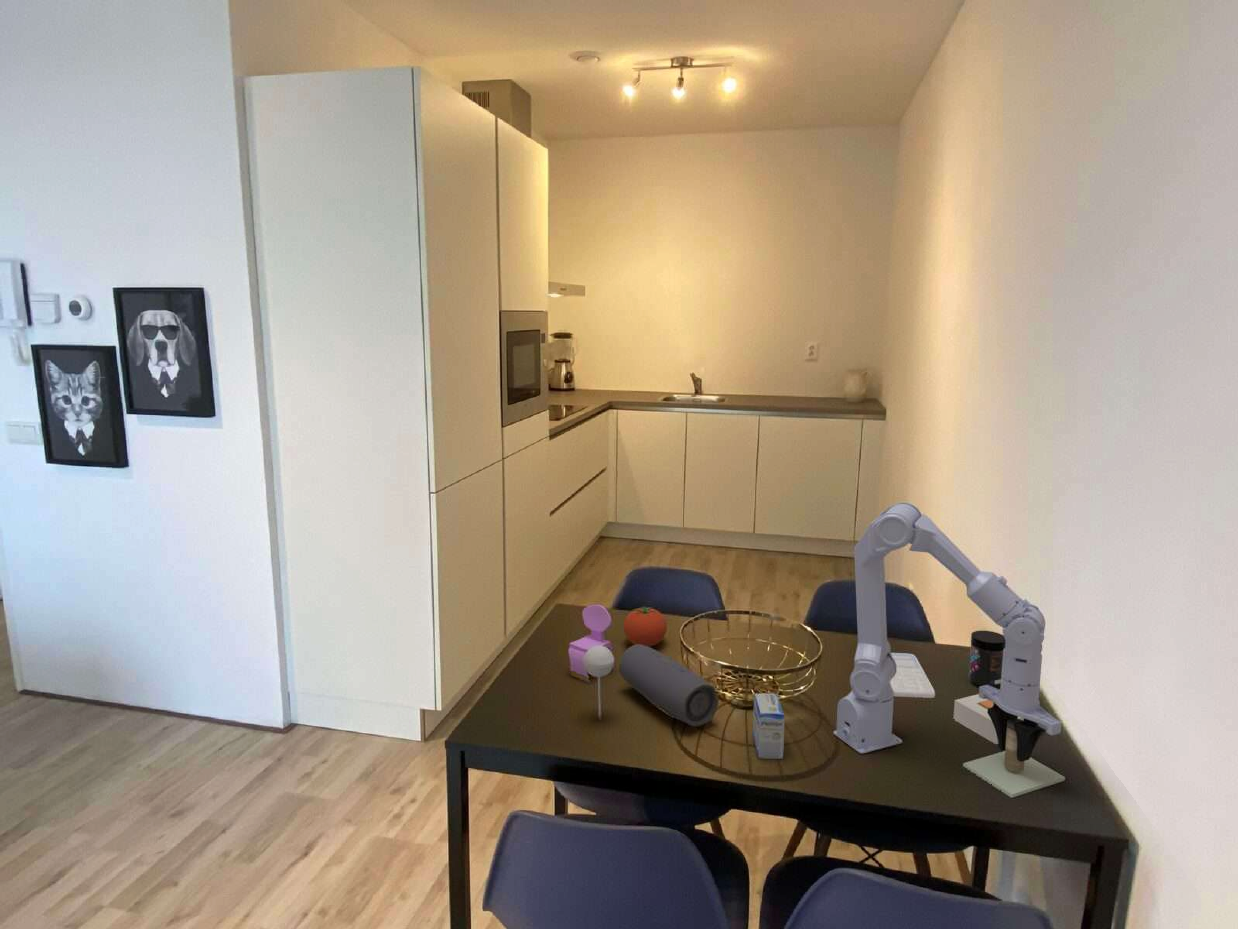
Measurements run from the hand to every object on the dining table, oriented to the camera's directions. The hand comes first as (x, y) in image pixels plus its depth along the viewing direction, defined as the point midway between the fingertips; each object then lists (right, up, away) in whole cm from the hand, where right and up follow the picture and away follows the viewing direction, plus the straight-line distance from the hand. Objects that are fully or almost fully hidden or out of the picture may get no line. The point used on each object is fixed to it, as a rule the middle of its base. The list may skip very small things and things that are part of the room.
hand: (1014, 754), depth 133 cm
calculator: (-7, +2, +38) cm, 39 cm away
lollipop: (-70, -1, +21) cm, 73 cm away
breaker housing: (+4, -1, +16) cm, 17 cm away
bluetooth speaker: (-57, 0, +25) cm, 62 cm away
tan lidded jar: (0, -2, 0) cm, 2 cm away
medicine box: (-40, -3, +10) cm, 41 cm away
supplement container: (+11, +2, +34) cm, 36 cm away
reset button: (+4, +1, +16) cm, 17 cm away
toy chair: (-73, +2, +41) cm, 83 cm away
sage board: (0, -3, +1) cm, 3 cm away
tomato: (-60, +5, +56) cm, 82 cm away
